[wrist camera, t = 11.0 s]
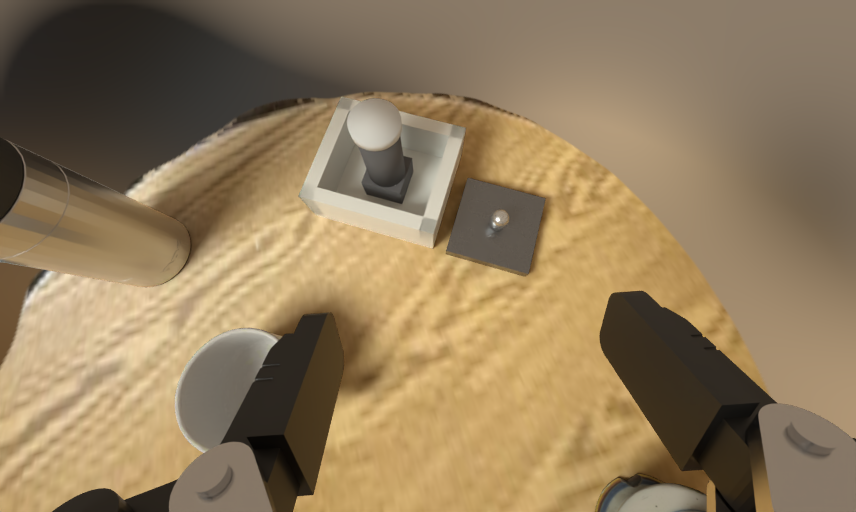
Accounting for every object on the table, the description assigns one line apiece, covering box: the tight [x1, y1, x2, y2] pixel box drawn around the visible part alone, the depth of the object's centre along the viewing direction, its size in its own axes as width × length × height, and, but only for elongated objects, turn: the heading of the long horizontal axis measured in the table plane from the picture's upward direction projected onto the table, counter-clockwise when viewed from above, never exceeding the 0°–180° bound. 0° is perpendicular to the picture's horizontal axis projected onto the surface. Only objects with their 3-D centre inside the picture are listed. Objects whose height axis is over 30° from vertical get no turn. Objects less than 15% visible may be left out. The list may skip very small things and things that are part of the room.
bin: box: [299, 96, 466, 249], centre depth 40 cm, size 16×14×6 cm
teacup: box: [175, 328, 283, 453], centre depth 33 cm, size 14×11×8 cm
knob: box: [347, 98, 413, 204], centre depth 36 cm, size 5×5×12 cm
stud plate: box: [446, 178, 546, 276], centre depth 39 cm, size 10×10×4 cm
